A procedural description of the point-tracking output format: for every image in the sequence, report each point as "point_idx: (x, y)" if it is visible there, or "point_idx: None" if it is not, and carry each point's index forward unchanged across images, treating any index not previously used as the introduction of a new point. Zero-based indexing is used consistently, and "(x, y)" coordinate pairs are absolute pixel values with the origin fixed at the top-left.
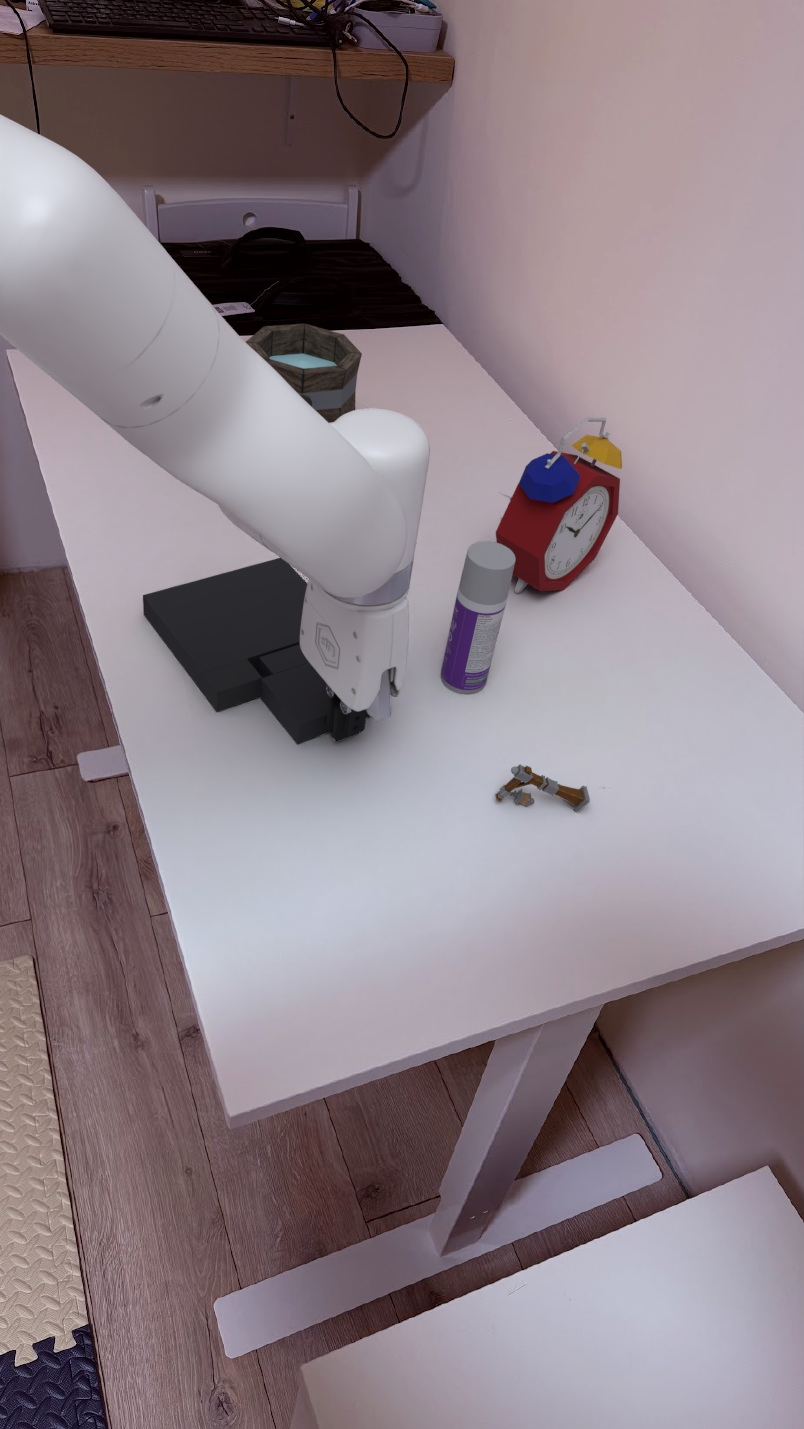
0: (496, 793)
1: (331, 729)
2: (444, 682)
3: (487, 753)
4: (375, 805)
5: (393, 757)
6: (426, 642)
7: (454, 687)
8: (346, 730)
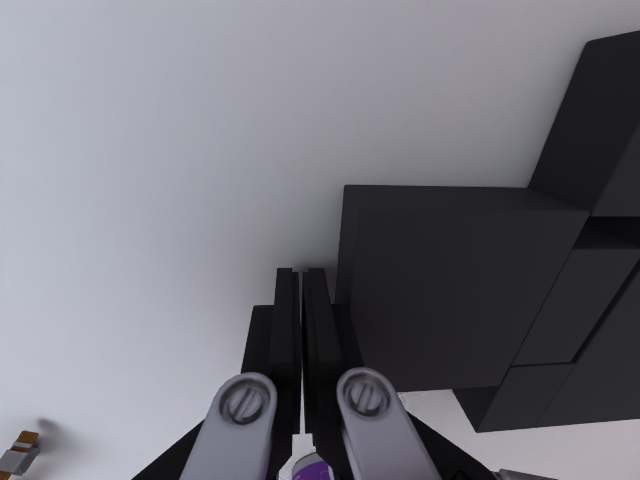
0: (34, 438)
1: (304, 280)
2: None
3: (164, 444)
4: (74, 244)
5: (212, 336)
6: None
7: (311, 463)
8: (259, 315)
